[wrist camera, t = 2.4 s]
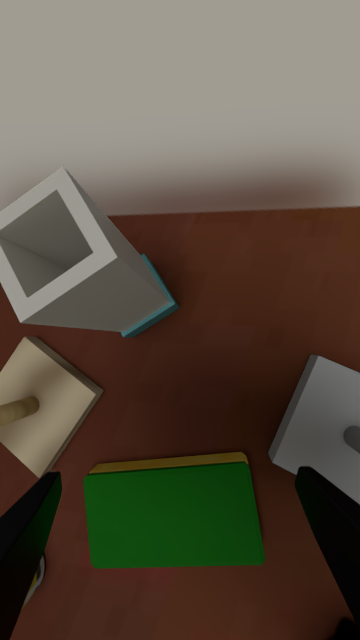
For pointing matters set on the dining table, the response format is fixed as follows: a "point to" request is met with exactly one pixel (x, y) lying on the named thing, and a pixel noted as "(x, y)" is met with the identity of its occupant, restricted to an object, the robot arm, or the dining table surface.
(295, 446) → the pin plate
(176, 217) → the dining table surface
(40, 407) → the pin plate
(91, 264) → the sleeve
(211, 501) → the dish sponge
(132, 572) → the dining table surface
